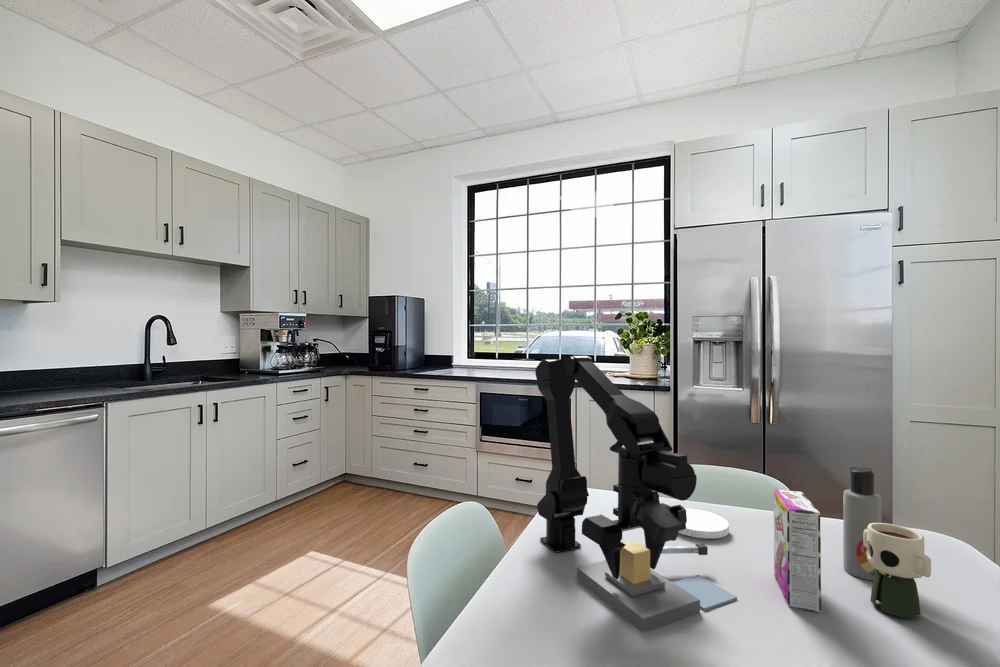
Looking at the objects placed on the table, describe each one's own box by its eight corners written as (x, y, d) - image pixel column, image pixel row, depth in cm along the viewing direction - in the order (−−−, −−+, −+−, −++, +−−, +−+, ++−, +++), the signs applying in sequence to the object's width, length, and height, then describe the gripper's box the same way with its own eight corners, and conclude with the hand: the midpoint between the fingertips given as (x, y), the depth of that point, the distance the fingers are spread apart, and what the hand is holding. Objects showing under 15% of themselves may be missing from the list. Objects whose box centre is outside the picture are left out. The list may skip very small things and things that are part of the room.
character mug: (846, 593, 79) (846, 518, 80) (882, 591, 80) (882, 517, 81) (909, 633, 69) (909, 546, 69) (950, 630, 70) (950, 544, 70)
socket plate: (576, 578, 83) (576, 567, 83) (627, 564, 88) (627, 554, 88) (643, 632, 68) (643, 618, 68) (699, 612, 73) (700, 599, 73)
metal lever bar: (615, 560, 85) (615, 548, 85) (612, 556, 87) (612, 544, 87) (707, 559, 86) (707, 547, 87) (703, 555, 88) (703, 543, 88)
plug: (604, 588, 80) (605, 543, 80) (635, 580, 83) (636, 536, 83) (632, 610, 74) (633, 560, 74) (664, 600, 77) (665, 552, 77)
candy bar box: (771, 575, 85) (772, 487, 86) (803, 580, 84) (803, 491, 84) (786, 608, 75) (786, 507, 75) (822, 614, 73) (822, 512, 73)
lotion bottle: (888, 582, 83) (888, 473, 84) (853, 579, 84) (853, 471, 85) (870, 567, 89) (870, 465, 89) (837, 564, 90) (837, 463, 90)
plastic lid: (656, 532, 105) (656, 521, 105) (672, 514, 116) (672, 504, 116) (723, 549, 97) (723, 537, 97) (733, 527, 108) (733, 516, 108)
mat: (666, 586, 81) (666, 584, 81) (698, 576, 84) (698, 574, 84) (704, 610, 74) (704, 608, 74) (737, 599, 77) (737, 596, 77)
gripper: (625, 505, 67) (624, 611, 67) (712, 489, 75) (711, 583, 75) (580, 483, 77) (579, 576, 77) (661, 471, 85) (661, 555, 85)
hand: (634, 573), depth 78 cm, fingers open, 8 cm apart
